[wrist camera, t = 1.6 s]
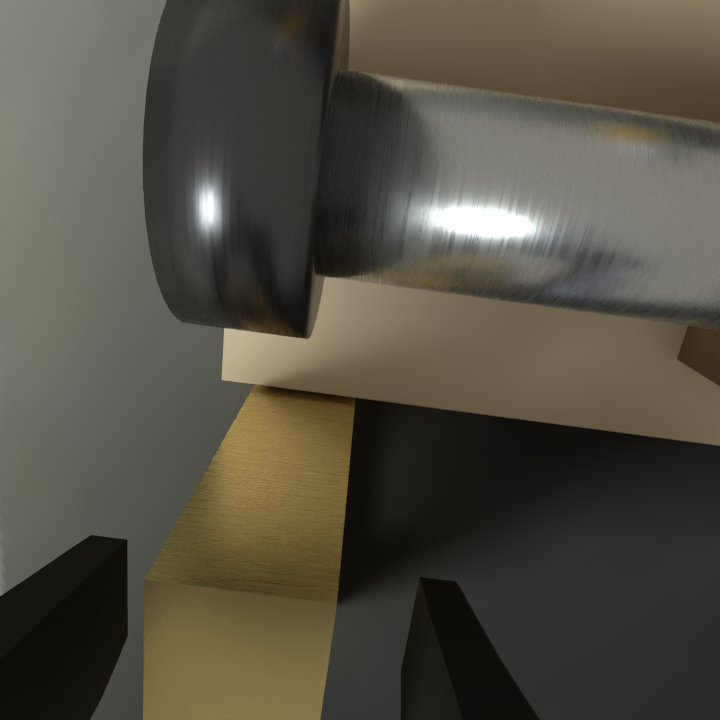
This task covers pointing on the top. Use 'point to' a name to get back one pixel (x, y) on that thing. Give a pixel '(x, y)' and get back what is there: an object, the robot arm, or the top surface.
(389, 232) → the shaft
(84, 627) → the robot arm
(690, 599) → the top surface
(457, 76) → the bearing bed
